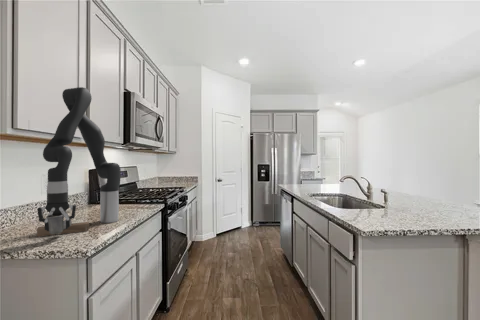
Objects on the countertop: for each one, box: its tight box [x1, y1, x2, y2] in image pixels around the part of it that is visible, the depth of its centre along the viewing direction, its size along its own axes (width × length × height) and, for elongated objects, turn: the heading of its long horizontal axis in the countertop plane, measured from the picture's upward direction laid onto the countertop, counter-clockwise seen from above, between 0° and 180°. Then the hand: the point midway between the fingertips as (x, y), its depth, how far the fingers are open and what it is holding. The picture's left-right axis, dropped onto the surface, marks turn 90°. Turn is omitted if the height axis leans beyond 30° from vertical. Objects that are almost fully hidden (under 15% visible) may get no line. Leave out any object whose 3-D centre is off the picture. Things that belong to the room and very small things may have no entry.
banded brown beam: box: [36, 221, 90, 238], centre depth 120 cm, size 4×20×4 cm, turn 121°
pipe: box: [45, 214, 73, 236], centre depth 111 cm, size 6×13×8 cm, turn 3°
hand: (57, 229), depth 110 cm, fingers closed on pipe, 6 cm apart
